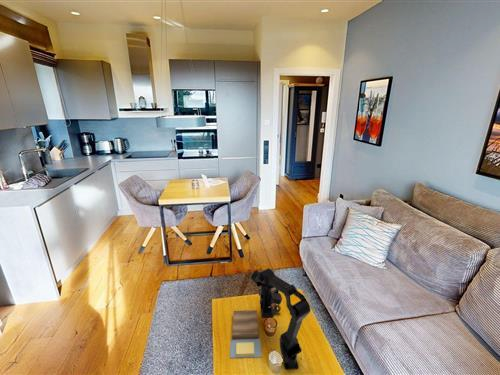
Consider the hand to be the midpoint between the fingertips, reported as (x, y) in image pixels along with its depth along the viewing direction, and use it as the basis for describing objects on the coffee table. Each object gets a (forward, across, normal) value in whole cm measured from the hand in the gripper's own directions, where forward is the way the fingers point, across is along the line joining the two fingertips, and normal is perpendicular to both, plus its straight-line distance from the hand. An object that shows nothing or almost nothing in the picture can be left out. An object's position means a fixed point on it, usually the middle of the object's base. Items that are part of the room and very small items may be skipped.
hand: (265, 314), depth 133 cm
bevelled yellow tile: (+9, -11, +12) cm, 19 cm away
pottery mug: (+12, +14, -5) cm, 19 cm away
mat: (+12, -9, +12) cm, 19 cm away
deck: (+12, +4, +11) cm, 17 cm away
